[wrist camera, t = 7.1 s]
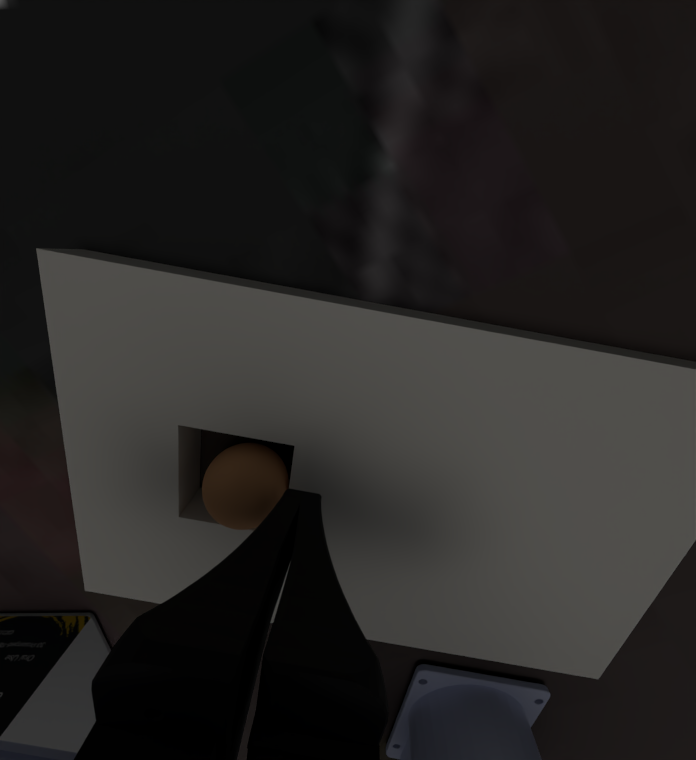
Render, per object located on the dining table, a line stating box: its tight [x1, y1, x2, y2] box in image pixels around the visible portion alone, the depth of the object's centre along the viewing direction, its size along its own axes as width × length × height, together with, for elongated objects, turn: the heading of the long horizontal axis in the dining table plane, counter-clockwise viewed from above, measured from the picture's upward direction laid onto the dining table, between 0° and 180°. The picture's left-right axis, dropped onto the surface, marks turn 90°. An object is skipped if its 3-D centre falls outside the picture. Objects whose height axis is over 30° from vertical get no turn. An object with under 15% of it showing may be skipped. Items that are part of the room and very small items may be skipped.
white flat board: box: [36, 248, 696, 679], centre depth 15 cm, size 26×16×2 cm, turn 80°
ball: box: [202, 443, 289, 530], centre depth 14 cm, size 4×4×4 cm
